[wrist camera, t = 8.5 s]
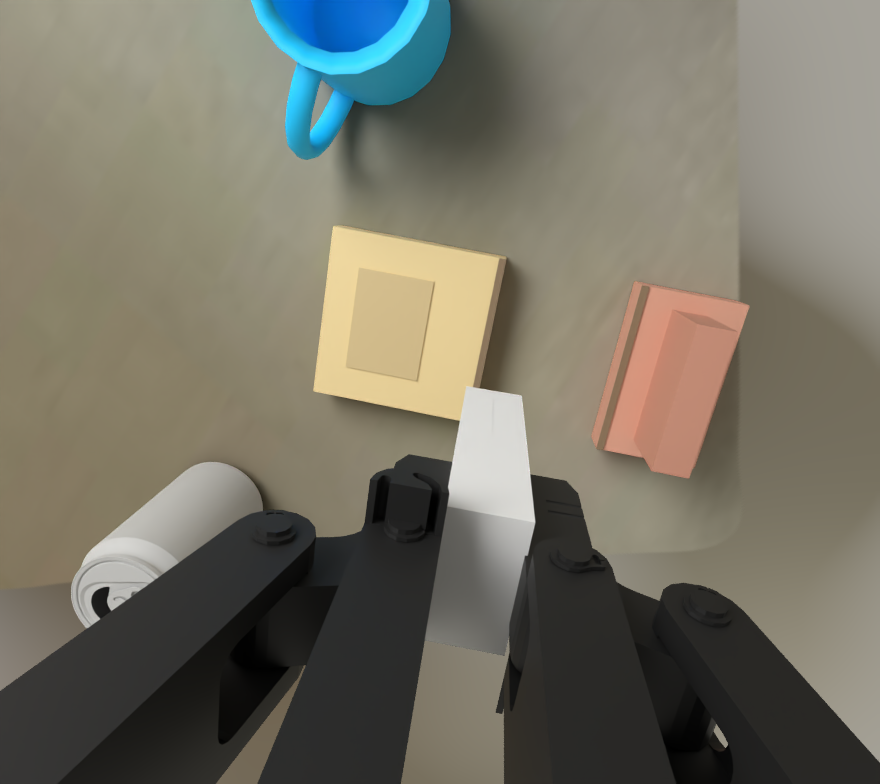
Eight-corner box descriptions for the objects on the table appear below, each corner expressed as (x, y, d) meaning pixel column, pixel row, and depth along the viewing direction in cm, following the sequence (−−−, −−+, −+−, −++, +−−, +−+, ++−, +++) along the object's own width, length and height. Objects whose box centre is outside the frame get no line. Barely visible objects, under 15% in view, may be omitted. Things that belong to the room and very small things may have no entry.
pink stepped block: (634, 281, 35) (662, 296, 29) (736, 300, 35) (786, 319, 29) (591, 436, 38) (609, 480, 32) (684, 455, 38) (720, 502, 32)
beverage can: (164, 472, 42) (39, 570, 31) (243, 445, 41) (144, 537, 29) (204, 548, 44) (99, 669, 32) (282, 525, 42) (202, 641, 31)
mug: (338, -94, 31) (285, -194, 23) (478, -19, 32) (470, -93, 24) (258, 131, 35) (189, 108, 27) (384, 195, 35) (351, 192, 27)
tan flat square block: (342, 225, 36) (332, 226, 34) (506, 256, 36) (506, 259, 34) (322, 382, 39) (312, 391, 37) (473, 412, 39) (472, 423, 37)
